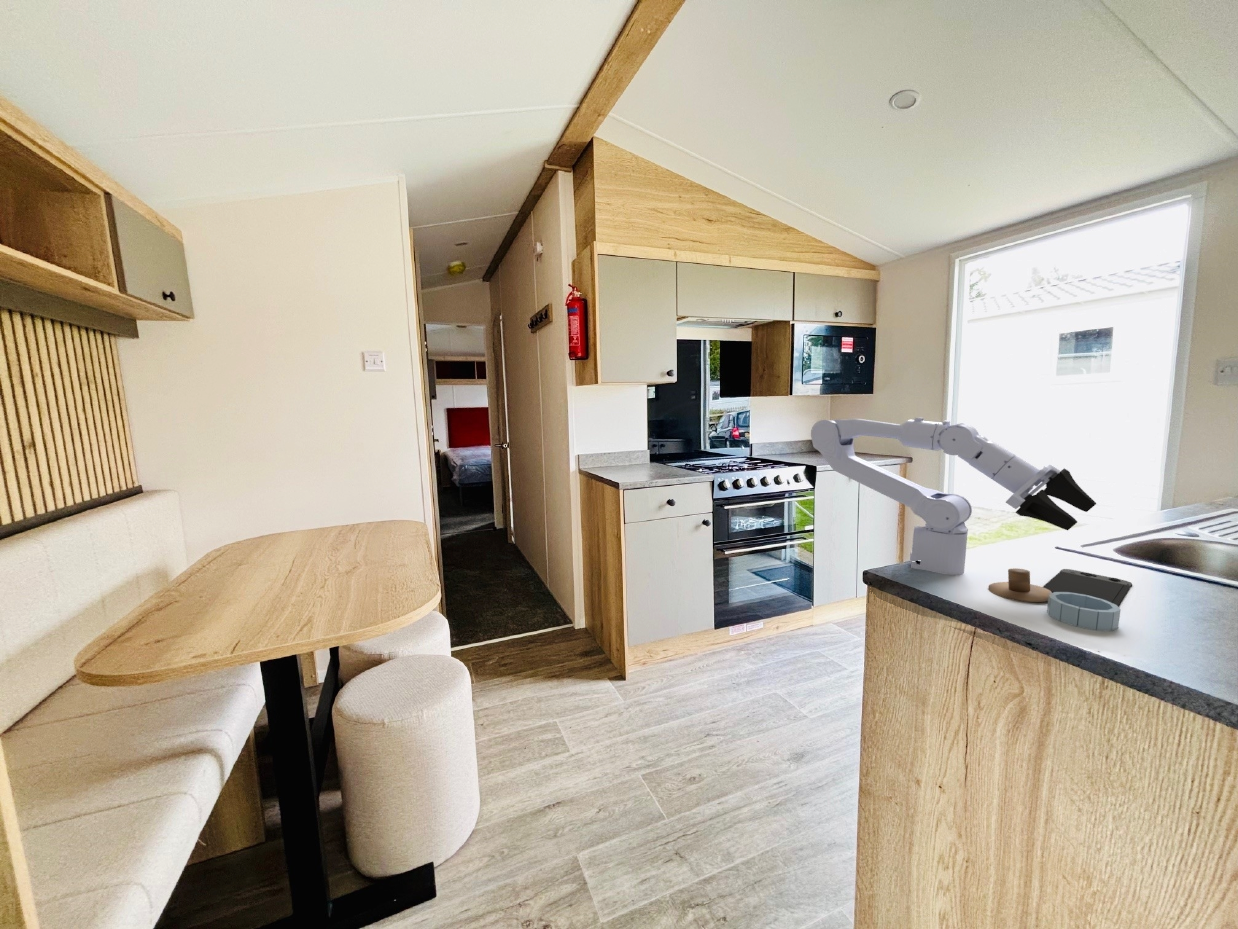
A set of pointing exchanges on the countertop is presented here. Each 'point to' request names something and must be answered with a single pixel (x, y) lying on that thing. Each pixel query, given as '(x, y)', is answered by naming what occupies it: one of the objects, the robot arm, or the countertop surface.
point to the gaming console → (1089, 585)
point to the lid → (1020, 587)
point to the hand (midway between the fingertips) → (1082, 516)
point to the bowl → (1083, 611)
